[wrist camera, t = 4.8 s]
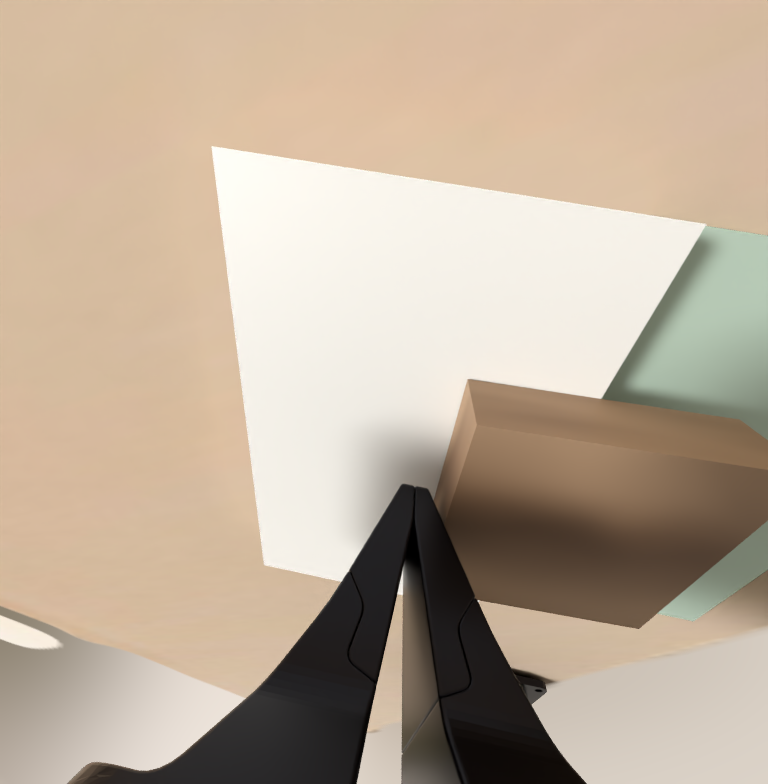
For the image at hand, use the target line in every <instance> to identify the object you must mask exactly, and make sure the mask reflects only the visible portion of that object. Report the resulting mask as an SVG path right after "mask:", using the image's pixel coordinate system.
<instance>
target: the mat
mask: <svg viewBox="0 0 768 784" xmlns="http://www.w3.org/2000/svg"><path fill="white" fill-rule="evenodd" d="M601 399H605V400H612V401H618V402H625V403H632V404H639V405H645V406H652V407H659V408H666V409H672V410H679V411H686V412H693V413H699V414H706V415H713V416H720V417H726V418H733V419H740V420H741V421H742V422H744V423H745V424H747V425H748V426H749V427H751V428H752V429H753V430H755V431H756V432H757V433H759V434H760V435H761V436H763V437H764V438H766V439H767V440H768V236H766V235H760V234H754V233H747V232H741V231H735V230H728V229H722V228H716V227H709V226H705V228H704V229H703V231H702V233H701V234H700V236H699V238H698V239H697V241H696V243H695V244H694V246H693V248H692V249H691V251H690V253H689V254H688V256H687V257H686V259H685V261H684V262H683V264H682V266H681V267H680V269H679V271H678V272H677V274H676V276H675V277H674V279H673V281H672V282H671V284H670V286H669V287H668V289H667V291H666V292H665V294H664V296H663V297H662V299H661V301H660V302H659V304H658V306H657V307H656V309H655V311H654V312H653V314H652V316H651V317H650V319H649V320H648V322H647V324H646V325H645V327H644V329H643V330H642V332H641V334H640V335H639V337H638V339H637V340H636V342H635V344H634V345H633V347H632V349H631V350H630V352H629V354H628V355H627V357H626V359H625V360H624V362H623V364H622V365H621V367H620V369H619V370H618V372H617V374H616V375H615V377H614V378H613V380H612V382H611V383H610V385H609V387H608V388H607V390H606V392H605V393H604V395H603V397H602V398H601ZM767 570H768V521H767V522H766V523H764V524H763V525H762V526H761V527H760V528H758V529H757V530H756V531H755V532H754V533H752V534H751V535H750V536H749V537H748V538H746V539H745V540H744V541H743V542H742V543H741V544H739V545H738V546H737V547H736V548H735V549H733V550H732V551H731V552H730V553H729V554H727V555H726V556H725V557H724V558H723V559H721V560H720V561H719V562H718V563H717V564H715V565H714V566H713V567H712V568H711V569H710V570H708V571H707V572H706V573H705V574H704V575H702V576H701V577H700V578H699V579H698V580H696V581H695V582H694V583H693V584H692V585H690V586H689V587H688V588H687V589H686V590H685V591H683V592H682V593H681V594H680V595H679V596H677V597H676V598H675V599H674V600H673V601H671V602H670V603H669V604H668V605H667V606H665V607H664V608H663V609H662V610H661V611H659V612H658V613H657V614H662V615H666V616H671V617H676V618H680V619H685V620H690V621H695V620H696V619H698V618H699V617H700V616H702V615H703V614H705V613H706V612H708V611H709V610H711V609H712V608H713V607H715V606H716V605H718V604H719V603H721V602H722V601H724V600H725V599H726V598H728V597H729V596H731V595H732V594H734V593H735V592H737V591H738V590H740V589H741V588H742V587H744V586H745V585H747V584H748V583H750V582H751V581H753V580H754V579H755V578H757V577H758V576H760V575H761V574H763V573H764V572H766V571H767Z"/></svg>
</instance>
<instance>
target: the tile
mask: <svg viewBox="0 0 768 784" xmlns="http://www.w3.org/2000/svg"><path fill="white" fill-rule="evenodd" d="M434 503H435V505H436V507H437V509H438V512H439V514H440V516H441V519H442V521H443V523H444V525H445V528H446V530H447V532H448V535H449V537H450V539H451V541H452V544H453V546H454V548H455V550H456V553H457V555H458V557H459V560H460V562H461V564H462V566H463V569H464V571H465V573H466V576H467V578H468V580H469V582H470V585H471V587H472V589H473V592H474V594H475V598H476V599H477V600H480V601H486V602H491V603H497V604H503V605H508V606H514V607H519V608H525V609H531V610H536V611H542V612H547V613H553V614H558V615H564V616H570V617H575V618H581V619H586V620H592V621H597V622H603V623H609V624H614V625H620V626H625V627H631V628H637V629H639V628H640V627H642V626H643V625H644V624H645V623H646V622H648V621H649V620H650V619H651V618H652V617H654V616H655V615H656V614H657V613H658V612H659V611H661V610H662V609H663V608H664V607H665V606H667V605H668V604H669V603H670V602H671V601H673V600H674V599H675V598H676V597H677V596H679V595H680V594H681V593H682V592H683V591H685V590H686V589H687V588H688V587H689V586H690V585H692V584H693V583H694V582H695V581H696V580H698V579H699V578H700V577H701V576H702V575H704V574H705V573H706V572H707V571H708V570H710V569H711V568H712V567H713V566H714V565H715V564H717V563H718V562H719V561H720V560H721V559H723V558H724V557H725V556H726V555H727V554H729V553H730V552H731V551H732V550H733V549H735V548H736V547H737V546H738V545H739V544H741V543H742V542H743V541H744V540H745V539H746V538H748V537H749V536H750V535H751V534H752V533H754V532H755V531H756V530H757V529H758V528H760V527H761V526H762V525H763V524H764V523H766V522H767V521H768V440H767V439H766V438H764V437H763V436H761V435H760V434H759V433H757V432H756V431H755V430H753V429H752V428H751V427H749V426H748V425H747V424H745V423H744V422H742V421H741V420H740V419H733V418H726V417H720V416H713V415H706V414H699V413H693V412H686V411H679V410H672V409H666V408H659V407H652V406H645V405H639V404H632V403H625V402H618V401H612V400H605V399H598V398H591V397H585V396H578V395H571V394H564V393H558V392H551V391H544V390H537V389H531V388H524V387H517V386H510V385H504V384H497V383H490V382H483V381H477V380H470V379H467V383H466V386H465V390H464V394H463V397H462V401H461V404H460V408H459V411H458V415H457V418H456V422H455V426H454V429H453V433H452V436H451V440H450V443H449V447H448V450H447V454H446V458H445V461H444V465H443V468H442V472H441V475H440V479H439V482H438V486H437V490H436V493H435V497H434Z"/></svg>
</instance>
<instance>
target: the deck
mask: <svg viewBox="0 0 768 784" xmlns="http://www.w3.org/2000/svg"><path fill="white" fill-rule="evenodd" d="M212 154H213V162H214V170H215V178H216V186H217V194H218V202H219V210H220V218H221V226H222V234H223V242H224V250H225V257H226V265H227V273H228V281H229V289H230V297H231V305H232V313H233V321H234V329H235V337H236V345H237V353H238V361H239V369H240V377H241V385H242V393H243V401H244V409H245V417H246V425H247V433H248V441H249V449H250V457H251V465H252V473H253V481H254V489H255V496H256V504H257V512H258V520H259V528H260V536H261V544H262V552H263V560H264V565H266V566H271V567H276V568H280V569H285V570H289V571H294V572H299V573H303V574H308V575H312V576H317V577H322V578H326V579H331V580H335V581H340V582H342V580H343V578H344V577H345V575H346V573H347V572H349V569H350V567H351V566H352V564H353V562H354V561H355V559H356V557H357V556H358V554H359V553H360V551H361V549H362V548H363V546H364V544H365V543H366V541H367V539H368V538H369V536H370V535H371V533H372V531H373V530H374V528H375V526H376V525H377V523H378V522H379V520H380V518H381V517H382V515H383V513H384V512H385V510H386V508H387V507H388V505H389V504H390V502H391V500H392V499H393V497H394V495H395V494H396V492H397V490H398V489H399V487H400V486H401V484H409V485H413V486H414V487H416V486H419V487H424V488H427V489H429V491H430V493H431V496H432V498H433V500H434V497H435V493H436V490H437V486H438V482H439V479H440V475H441V472H442V468H443V465H444V461H445V458H446V454H447V450H448V447H449V443H450V440H451V436H452V433H453V429H454V426H455V422H456V418H457V415H458V411H459V408H460V404H461V401H462V397H463V394H464V390H465V386H466V383H467V379H470V380H477V381H483V382H490V383H497V384H504V385H510V386H517V387H524V388H531V389H537V390H544V391H551V392H558V393H564V394H571V395H578V396H585V397H591V398H598V399H601V398H602V397H603V395H604V393H605V392H606V390H607V388H608V387H609V385H610V383H611V382H612V380H613V378H614V377H615V375H616V374H617V372H618V370H619V369H620V367H621V365H622V364H623V362H624V360H625V359H626V357H627V355H628V354H629V352H630V350H631V349H632V347H633V345H634V344H635V342H636V340H637V339H638V337H639V335H640V334H641V332H642V330H643V329H644V327H645V325H646V324H647V322H648V320H649V319H650V317H651V316H652V314H653V312H654V311H655V309H656V307H657V306H658V304H659V302H660V301H661V299H662V297H663V296H664V294H665V292H666V291H667V289H668V287H669V286H670V284H671V282H672V281H673V279H674V277H675V276H676V274H677V272H678V271H679V269H680V267H681V266H682V264H683V262H684V261H685V259H686V257H687V256H688V254H689V253H690V251H691V249H692V248H693V246H694V244H695V243H696V241H697V239H698V238H699V236H700V234H701V233H702V231H703V229H704V228H705V226H706V224H703V223H696V222H690V221H684V220H677V219H671V218H664V217H658V216H652V215H645V214H639V213H633V212H626V211H620V210H614V209H607V208H601V207H595V206H588V205H582V204H576V203H569V202H563V201H556V200H550V199H544V198H537V197H531V196H525V195H518V194H512V193H506V192H499V191H493V190H487V189H480V188H474V187H467V186H461V185H455V184H448V183H442V182H436V181H429V180H423V179H417V178H410V177H404V176H398V175H391V174H385V173H379V172H372V171H366V170H359V169H353V168H347V167H340V166H334V165H328V164H321V163H315V162H309V161H302V160H296V159H290V158H283V157H277V156H271V155H264V154H258V153H251V152H245V151H239V150H232V149H226V148H220V147H213V146H212ZM397 594H400V595H403V571H402V575H401V580H400V584H399V589H398V593H397ZM479 601H480V600H478V602H479Z"/></svg>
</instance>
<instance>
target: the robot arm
mask: <svg viewBox="0 0 768 784" xmlns="http://www.w3.org/2000/svg"><path fill="white" fill-rule="evenodd" d="M402 571H403V653H402V753H403V754H402V783H401V784H586V782H585V781H584V780H583V779H582V778H581V777H580V776H579V775H578V773H577V772H576V771H575V770H574V769H573V768H572V767H571V766H570V764H569V763H568V762H567V761H566V759H565V758H564V757H563V755H562V754H561V753H560V751H559V750H558V749H557V747H556V746H555V744H554V743H553V742H552V740H551V738H550V737H549V735H548V734H547V732H546V730H545V729H544V727H543V725H542V723H541V721H540V720H539V718H538V716H537V714H536V713H535V711H534V709H533V707H532V705H531V704H533V703H534V702H535V701H536V700H537V699H539V698H540V697H541V696H542V695H544V694H545V693H546V692H547V690H546V686H545V683H544V682H543V681H540V680H536V679H531V678H527V677H522V676H518V675H514V673H513V671H512V669H511V667H510V665H509V664H508V662H507V660H506V658H505V656H504V654H503V653H502V651H501V649H500V647H499V645H498V643H497V641H496V639H495V637H494V635H493V633H492V631H491V629H490V627H489V625H488V623H487V621H486V618H485V616H484V614H483V612H482V610H481V607H480V605H479V603H478V600H477V599H476V598H475V594H474V592H473V589H472V587H471V585H470V582H469V580H468V578H467V576H466V573H465V571H464V569H463V566H462V564H461V562H460V560H459V557H458V555H457V553H456V550H455V548H454V546H453V544H452V541H451V539H450V537H449V535H448V532H447V530H446V528H445V525H444V523H443V521H442V519H441V516H440V514H439V512H438V509H437V507H436V505H435V503H434V500H433V498H432V496H431V493H430V491H429V489H427V488H424V487H419V486H416V487H414V486H413V485H409V484H401V486H400V487H399V489H398V490H397V492H396V494H395V495H394V497H393V499H392V500H391V502H390V504H389V505H388V507H387V508H386V510H385V512H384V513H383V515H382V517H381V518H380V520H379V522H378V523H377V525H376V526H375V528H374V530H373V531H372V533H371V535H370V536H369V538H368V539H367V541H366V543H365V544H364V546H363V548H362V549H361V551H360V553H359V554H358V556H357V557H356V559H355V561H354V562H353V564H352V566H351V567H350V569H349V572H347V573H346V575H345V577H344V578H343V580H342V582H341V583H340V585H339V586H338V588H337V589H336V591H335V592H334V594H333V595H332V597H331V598H330V600H329V601H328V603H327V604H326V605H325V607H324V608H323V609H322V611H321V612H320V613H319V615H318V616H317V617H316V619H315V620H314V621H313V623H312V624H311V625H310V626H309V628H308V629H307V630H306V631H305V633H304V634H303V635H302V636H301V638H300V639H299V640H298V641H297V643H296V644H295V645H294V646H293V648H292V649H291V650H290V651H289V653H288V654H287V655H286V656H285V658H284V659H283V660H282V661H281V663H280V664H279V665H278V666H277V667H276V668H275V670H274V671H273V672H272V673H271V674H270V675H269V677H268V678H267V679H266V680H265V681H264V682H263V683H262V684H261V685H260V686H259V687H258V688H257V689H256V690H255V691H254V692H253V693H252V694H251V695H249V696H248V697H247V698H246V699H245V700H244V701H243V702H242V703H240V704H239V705H238V706H237V707H236V708H234V709H233V710H232V711H231V712H230V713H229V714H228V715H226V716H225V717H224V718H223V719H222V720H221V721H220V722H218V723H217V724H216V725H215V726H214V727H213V728H212V729H210V730H209V731H208V732H207V733H206V734H205V735H203V736H202V737H201V738H200V739H199V740H198V741H197V742H195V743H194V744H193V745H192V746H191V747H190V748H189V749H187V750H186V751H185V752H184V753H183V754H181V755H180V756H179V757H177V758H176V759H175V760H173V761H172V762H171V763H168V764H166V765H164V766H162V767H160V768H157V769H153V770H149V771H138V770H134V769H130V768H126V767H122V766H118V765H114V764H108V763H101V762H92V763H90V764H88V765H86V766H85V767H83V768H82V769H81V770H80V771H79V772H78V773H77V774H76V776H74V777H73V778H72V779H71V780H70V781H69V782H68V783H67V784H357V779H358V774H359V769H360V763H361V758H362V753H363V748H364V743H365V738H366V733H367V728H368V723H369V718H370V714H371V709H372V704H373V700H374V695H375V691H376V685H377V682H378V677H379V673H380V669H381V664H382V660H383V655H384V651H385V646H386V642H387V638H388V633H389V629H390V624H391V620H392V615H393V611H394V606H395V602H396V598H397V593H398V589H399V584H400V580H401V575H402Z"/></svg>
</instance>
